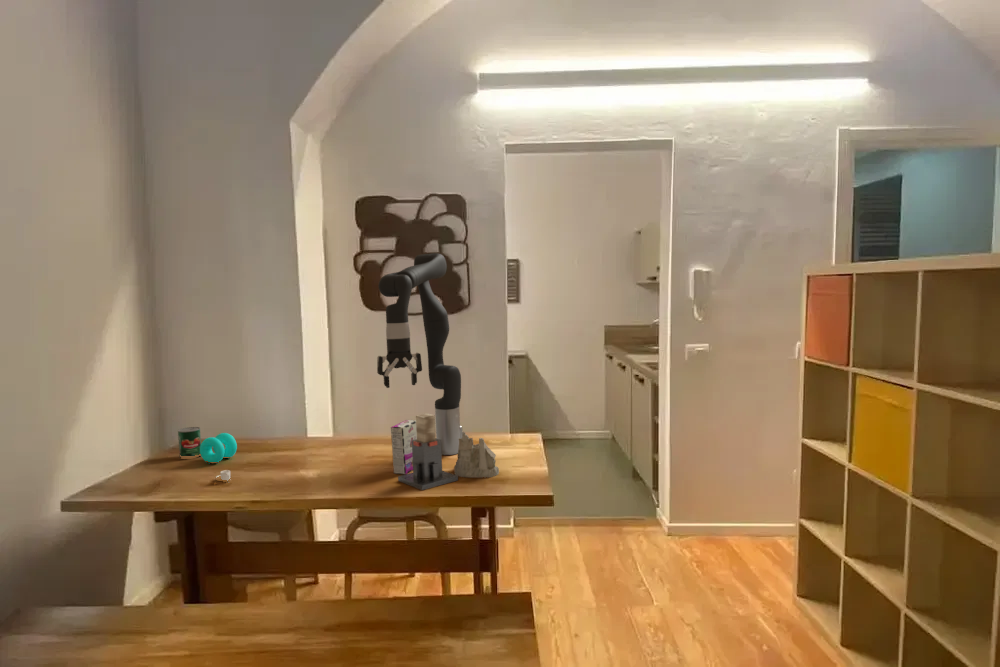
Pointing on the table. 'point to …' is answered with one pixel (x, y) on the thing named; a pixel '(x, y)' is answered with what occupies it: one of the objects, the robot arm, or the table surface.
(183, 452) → the canned tomato
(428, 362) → the robot arm
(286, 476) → the table surface
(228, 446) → the donuts
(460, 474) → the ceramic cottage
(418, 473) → the stand
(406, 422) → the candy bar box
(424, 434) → the post
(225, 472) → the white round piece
